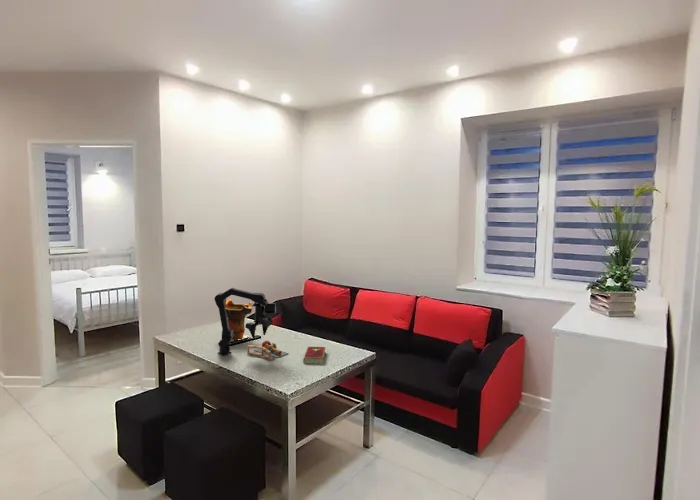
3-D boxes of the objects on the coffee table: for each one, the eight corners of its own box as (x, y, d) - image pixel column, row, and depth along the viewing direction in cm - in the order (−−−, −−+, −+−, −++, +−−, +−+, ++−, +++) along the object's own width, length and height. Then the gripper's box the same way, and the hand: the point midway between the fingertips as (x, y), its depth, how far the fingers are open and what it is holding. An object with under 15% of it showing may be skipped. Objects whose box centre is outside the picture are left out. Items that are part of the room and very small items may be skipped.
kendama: (285, 355, 264) (269, 345, 276) (284, 346, 262) (268, 337, 274) (275, 360, 259) (259, 349, 270) (275, 351, 257) (258, 341, 268)
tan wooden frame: (247, 353, 264) (247, 345, 263) (252, 351, 267) (252, 343, 267) (269, 360, 252) (269, 352, 251) (274, 358, 255) (274, 350, 255)
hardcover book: (303, 363, 249) (303, 357, 249) (307, 352, 270) (307, 346, 270) (322, 364, 249) (322, 357, 248) (325, 352, 270) (325, 346, 269)
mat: (253, 350, 269) (253, 350, 269) (265, 347, 277) (265, 346, 277) (277, 358, 256) (277, 357, 256) (288, 353, 265) (288, 353, 265)
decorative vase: (250, 342, 285) (247, 303, 283) (217, 343, 286) (215, 304, 283) (257, 333, 306) (255, 297, 304) (227, 334, 306) (224, 298, 304)
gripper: (257, 317, 250) (256, 342, 251) (279, 312, 265) (278, 336, 266) (245, 314, 256) (244, 338, 257) (266, 309, 271) (266, 332, 273)
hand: (258, 336), depth 263 cm, fingers open, 9 cm apart
